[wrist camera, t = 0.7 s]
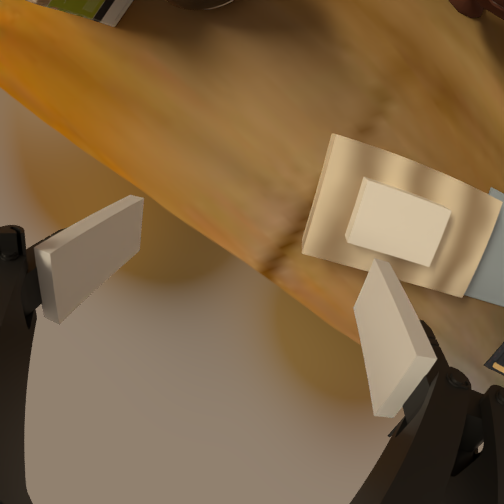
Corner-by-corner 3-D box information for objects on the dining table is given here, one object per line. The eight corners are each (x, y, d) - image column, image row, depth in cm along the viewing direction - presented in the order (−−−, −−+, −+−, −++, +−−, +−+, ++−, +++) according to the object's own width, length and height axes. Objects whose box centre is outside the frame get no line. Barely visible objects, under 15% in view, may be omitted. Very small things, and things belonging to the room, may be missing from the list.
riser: (485, 193, 29) (502, 202, 25) (449, 281, 34) (462, 297, 30) (331, 133, 30) (336, 134, 26) (302, 239, 35) (301, 253, 31)
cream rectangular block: (443, 205, 27) (451, 210, 25) (422, 258, 29) (429, 267, 27) (363, 176, 27) (367, 180, 25) (344, 235, 30) (347, 242, 28)
